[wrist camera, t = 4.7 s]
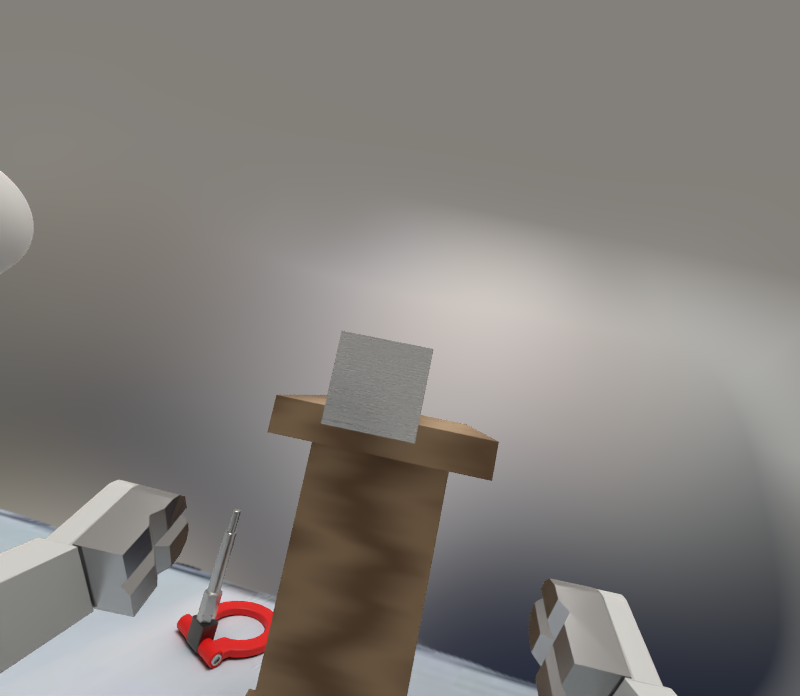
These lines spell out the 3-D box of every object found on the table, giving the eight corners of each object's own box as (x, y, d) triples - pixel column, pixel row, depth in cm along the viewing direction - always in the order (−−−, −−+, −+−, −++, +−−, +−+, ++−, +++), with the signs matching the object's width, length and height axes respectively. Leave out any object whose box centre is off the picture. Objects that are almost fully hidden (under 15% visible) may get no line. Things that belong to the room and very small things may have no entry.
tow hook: (250, 604, 46) (169, 627, 39) (280, 493, 48) (209, 496, 41) (294, 644, 41) (210, 679, 34) (326, 518, 43) (253, 526, 36)
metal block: (320, 423, 12) (341, 330, 13) (379, 405, 34) (386, 372, 34) (414, 443, 12) (433, 349, 12) (413, 412, 34) (419, 378, 34)
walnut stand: (104, 977, 17) (250, 390, 20) (243, 715, 31) (317, 392, 34) (419, 1072, 16) (523, 448, 19) (416, 760, 30) (476, 426, 33)
